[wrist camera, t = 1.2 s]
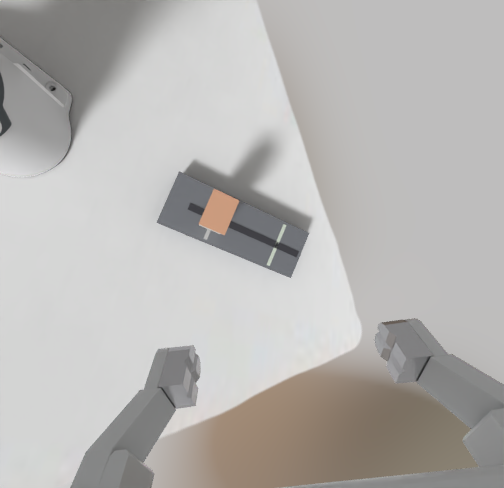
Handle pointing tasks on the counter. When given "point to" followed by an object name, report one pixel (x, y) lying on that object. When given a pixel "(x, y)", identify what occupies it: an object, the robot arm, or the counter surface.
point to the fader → (218, 212)
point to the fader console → (234, 227)
